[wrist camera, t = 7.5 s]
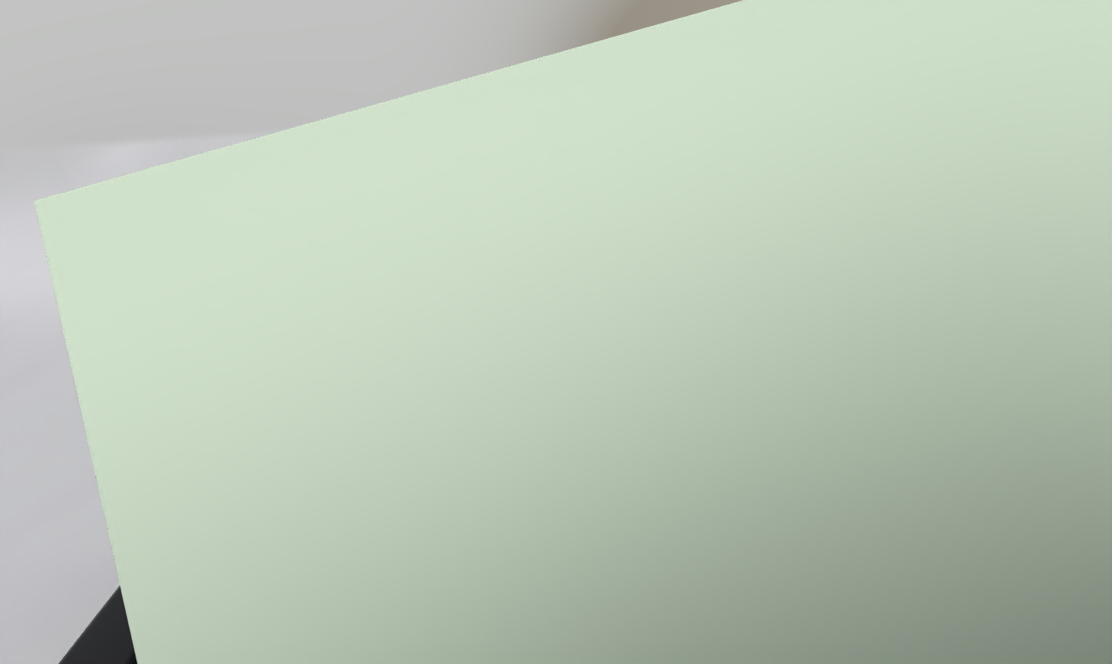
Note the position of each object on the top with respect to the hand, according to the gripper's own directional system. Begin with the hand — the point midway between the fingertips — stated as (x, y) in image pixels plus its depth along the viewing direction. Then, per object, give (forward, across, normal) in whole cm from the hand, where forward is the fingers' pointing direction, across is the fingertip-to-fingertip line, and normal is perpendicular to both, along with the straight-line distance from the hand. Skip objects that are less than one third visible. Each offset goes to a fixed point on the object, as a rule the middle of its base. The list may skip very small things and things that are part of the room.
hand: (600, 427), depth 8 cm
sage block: (+5, 0, +7) cm, 9 cm away
